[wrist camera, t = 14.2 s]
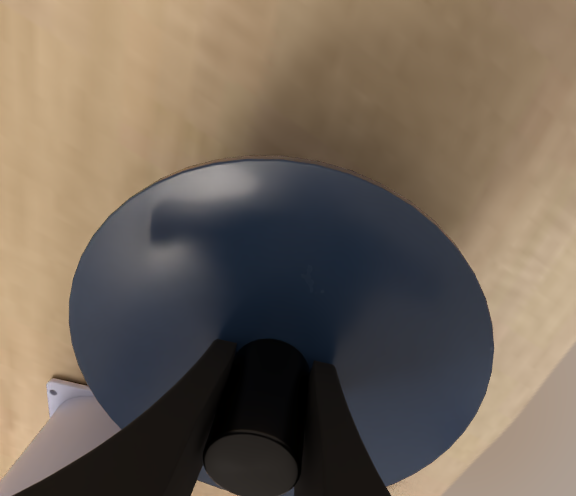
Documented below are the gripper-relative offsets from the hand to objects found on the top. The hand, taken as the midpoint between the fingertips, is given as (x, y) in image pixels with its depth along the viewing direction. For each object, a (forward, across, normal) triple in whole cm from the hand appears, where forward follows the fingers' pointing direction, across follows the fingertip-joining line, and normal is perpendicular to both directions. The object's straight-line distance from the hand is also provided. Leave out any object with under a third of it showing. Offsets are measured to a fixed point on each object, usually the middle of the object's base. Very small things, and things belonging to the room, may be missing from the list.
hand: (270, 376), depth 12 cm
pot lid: (+1, 0, 0) cm, 1 cm away
